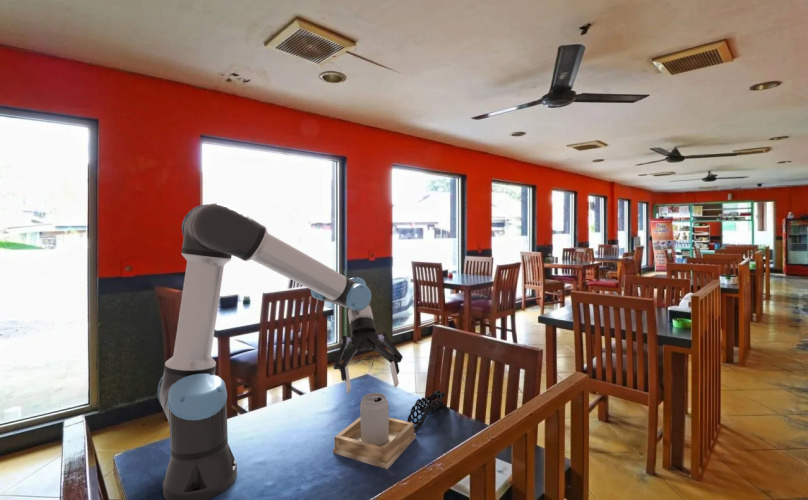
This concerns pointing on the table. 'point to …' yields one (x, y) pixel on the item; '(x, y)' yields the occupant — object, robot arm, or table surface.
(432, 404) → the decorative element
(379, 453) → the wooden tray
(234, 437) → the table surface
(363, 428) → the can
